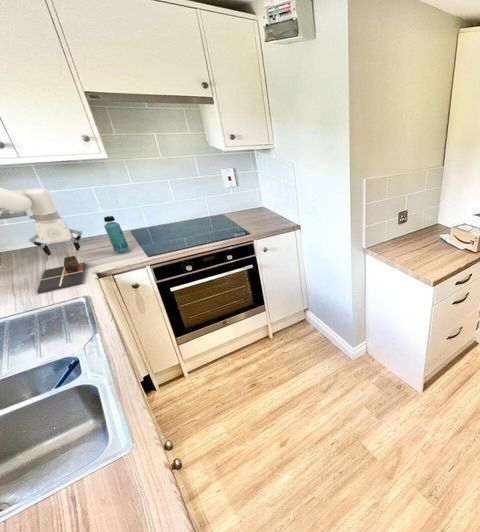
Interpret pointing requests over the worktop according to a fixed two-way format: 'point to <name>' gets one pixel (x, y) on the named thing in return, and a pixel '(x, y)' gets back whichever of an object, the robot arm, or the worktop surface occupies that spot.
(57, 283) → the board
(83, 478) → the worktop surface
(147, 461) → the worktop surface
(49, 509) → the worktop surface
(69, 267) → the brick
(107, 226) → the beverage bottle
